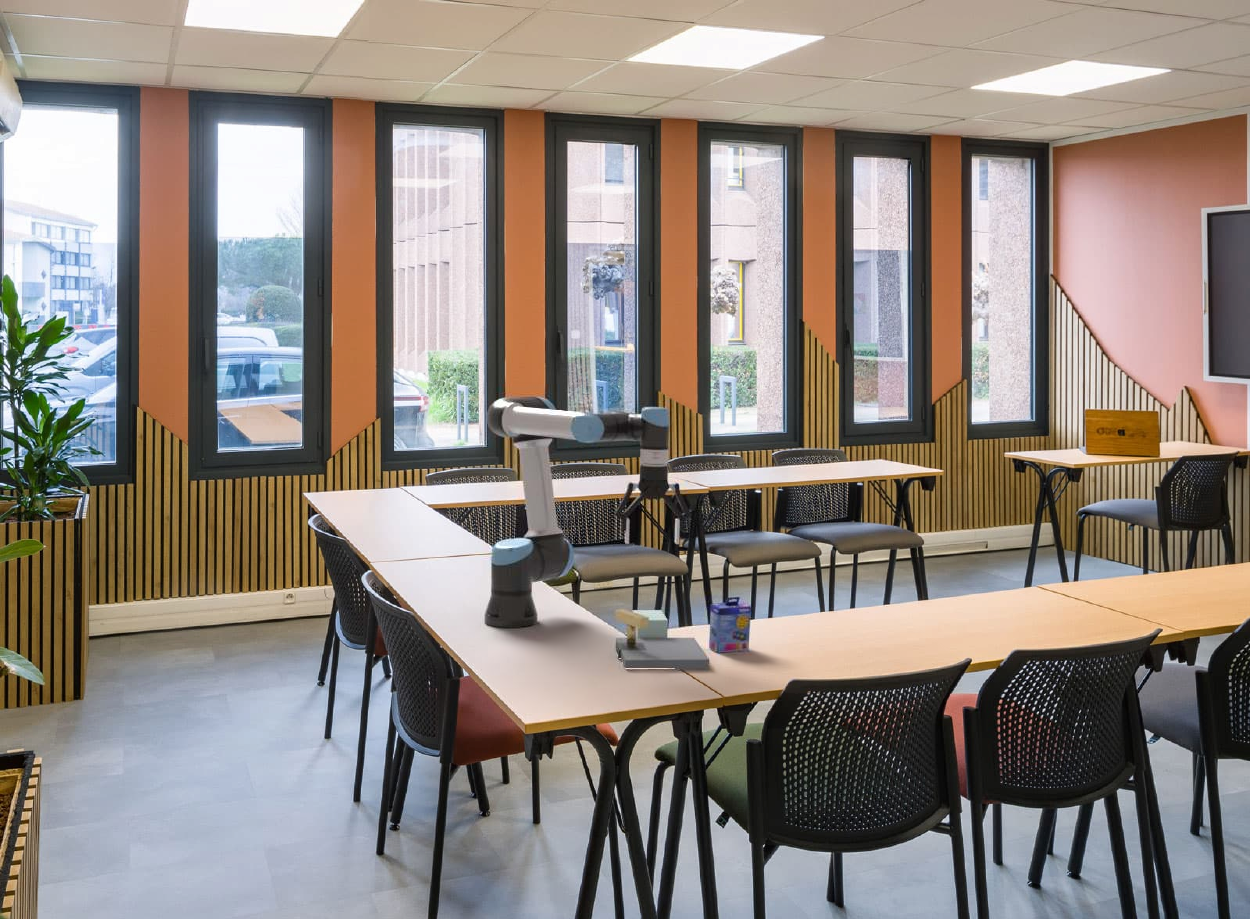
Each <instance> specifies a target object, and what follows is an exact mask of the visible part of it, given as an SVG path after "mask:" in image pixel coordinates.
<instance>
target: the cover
mask: <svg viewBox="0 0 1250 919" xmlns="http://www.w3.org/2000/svg"><path fill="white" fill-rule="evenodd" d="M631 612H634V613H637V614H640V615H643V616H646V617H649V626H648V628H641V629H640V628H637V627H636V638H668V627H669V624H668V623H669V620H668V619H667V617H666V615H665V613H664V612H663V610H661V609H658V610H657V609H652V610H651V609H650V610H649V609H647V610H646V609H644V610H643V609H641V610H640V609H637V610H636V609H634V610H633V609H632V611H631Z"/></svg>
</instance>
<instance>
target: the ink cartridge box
mask: <svg viewBox="0 0 1250 919" xmlns="http://www.w3.org/2000/svg"><path fill="white" fill-rule="evenodd" d="M740 599H741V598H740V596H733V597H727V599H726V601H725V602H718V603H710V614H709V615H710V616H709V619H710V620H709V638H708V639H709V640H708V641H709V642H708V643H709V644H708V647H709V648H708V649H710V650H712V651H714V652H715V653H717V654H721V653H731V652H732V653H733V652H743V651H744V652H746V651H749V649H750V632H751V631H750V630H751V613H752V612H751V611H752V606H751V605H749V604H747V603H745V602H743V601H740ZM734 600H735V601H734Z"/></svg>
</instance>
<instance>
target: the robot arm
mask: <svg viewBox="0 0 1250 919" xmlns="http://www.w3.org/2000/svg"><path fill="white" fill-rule="evenodd" d="M640 412H641V413H634V412H633V413H632V412H626V411H615V412H614V411H613V412H609V413H590V412H579V411H567V410H560V409H559V410H558V409H556V406H555V405H554V404H553V403H552V402H550V400H549V399H547V398H544V397H539V396H519V397H509V396H508V397H507V396H506V397H502V398H501V397H500V398H499V399H497V400H495V401H493V403H491V404H490V406H489V408H488V410H487V413H486V423H487V425H488V428H489V429H490V431H491V432H492V433H493V434H495V435H497V436H499V437H502V438H512V445H513V446H515V447H516V448H517V449H518V450H519V458H520V459H519V461H520V468H521V469H520V470H521V475H522V484H523V486H522V487H523V494H524V495H523V496H524V501H525V502H524V503H525V511H526V518H527V528H528V530H527V532H526V534H524V536H523V537H515V538H506V539H502V540H500V541H497V542H496V543H495V544H494V545H493V546H492V549H491V557H490V563H491V564H490V565H491V567H490V568H491V572H490V573H491V574H490V575H491V576H490V578H491V581H490V582H491V583H490V587H491V588H490V590H491V591H490V597H489V600H488V603H487V606H486V609H485V612H484V623H485V624H486V625H488V626H493V627H498V628H522V627H521V626H526V627H528V626H527V625H531V626H533V625H532V624H534V623H536V622H537V623H538V616H539V615H538V612H537V608H536V605H535V601H534V599H533V598H534V597H533V591H532V590H533V583H536V582H537V583H538V582H543V581H549V580H550V581H551V580H556V579H558V578H562V577H564V576H566V575H568V573H569V572H570V571H571V569H572V568H573V565H574V563H575V562H574V561H575V550H574V547H573V545H572V544H571V542H570V541H569V540H568V539H567V538H565V536H564V531H563V530H562V529H561V528H559V526H558V522H557V521H558V520H557V513H556V512H557V511H556V503H555V496H554V485H553V478H552V476H553V475H552V469H551V461H550V452H549V446H550V445H551V443H552V442H553V438H557V439H565V440H576V441H577V442H579V443H586V444H594V443H601V442H602V443H603V442H621V441H631V442H640V453H639V454H640V455H639V463H640V464H641V465H640V466H639V481H638V483H635V482H632V481H629V482H628V483H627V487H626V491H625V493H624V495H623V497H622V498H621V501H620V502H619V505H618V506H617V509H616V510H615V512H614V515H615V516H616V517H617V518H619V519H621V525H620V526H621V531H622V532H624V543H625V544H626V545H629V544H630V519H629V517H630V515H631V514H632V513H633V512H634V511H635V510H636V508H637V507H638V506H639V505H640V504H641V503H642V502H643V501H644V500H645V499H646V500H649V501H650V500H656V501H660V500H661V499H663V501H664V502H665V503H666V504H667V506H668V507H669V508H670V509H671V510H672V512H673V513H674V514H675V515H676V516H677V518H675V523H674V543H675V544H676V545H680V532H683V531H684V521H685V519H688V518H690V517H691V515H692V514H691V512H690V511H689V510H690V509H689V508H688V506H687V504H686V502H685V500H684V497H683V496H682V493H681V491H680V490H681V488H680V484H679V483H678V482H674V483H669V481H668V480H669V479H668V477H669V475H668V474H669V467H668V466H667V465H668V464H669V437H670V426H671V422H670V410H669V409H668V408H667V407H663V406H662V407H661V406H660V407H658V406H644V407H642V408H641V411H640ZM636 489H638V490H639V492H640V493H639V494H638V495H637V497H635V499H634V500H633V501H632V502H631V504H630V505H629V506H628V507H627V508H626V509H625V507H626V506H627V504H628V501H629V499H630V498H631V495H632V493H633V492H634V491H636ZM669 489H670V490H671V492H673V493H674V494H675V497H676V499H677V501H678V503H679V505H680V508H681V510H682V512H683V513H682V512H681V511H680V510H679V509H678V508H677V506H676V505H675V504H674V503H673V501H672V500H671V498H669V496H668V495H667V494H666V493H667V492H668V491H669ZM624 509H625V510H624ZM623 511H624V512H623ZM537 623H536V624H537ZM534 625H535V624H534Z"/></svg>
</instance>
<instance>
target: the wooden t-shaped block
mask: <svg viewBox="0 0 1250 919" xmlns="http://www.w3.org/2000/svg"><path fill="white" fill-rule="evenodd" d="M614 611H615V615H614V616H615V617H614V618H615V619H614V620H615V621H616V622H619V623H623V624H626V638H627V643H626V645H628V646H635V645H636V627H637V628H640V629H641V628H648V626H649V617H646V616H643V615H640V614H637V613H634V612H632V611H631V610H628V609H624V608H621V609H616V610H614Z"/></svg>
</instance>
